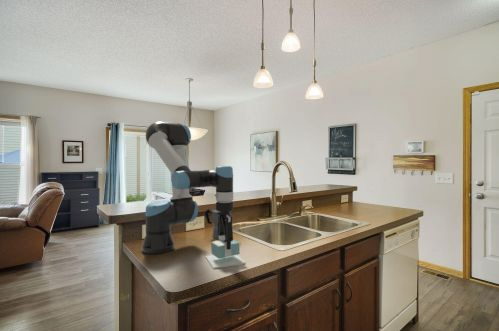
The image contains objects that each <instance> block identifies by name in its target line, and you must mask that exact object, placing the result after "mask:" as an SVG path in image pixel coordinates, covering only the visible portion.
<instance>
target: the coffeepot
mask: <svg viewBox="0 0 499 331" xmlns="http://www.w3.org/2000/svg"><path fill="white" fill-rule="evenodd" d="M218 212H220V211H217V210H216V209H209V208H208V209H206V211H205V212H204V216H205V218H206V221H207V224H210V225H211V224H212V221H213V228H212V234H211V237H212V239H215V240H219V236H220V235H218V232H217V229H218ZM231 213H232V211H229V214H231ZM209 214H211V215H212V221H210V216H209Z"/></svg>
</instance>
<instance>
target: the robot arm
mask: <svg viewBox="0 0 499 331" xmlns="http://www.w3.org/2000/svg"><path fill="white" fill-rule="evenodd" d="M145 140H146V142H147V144H148V145H149V147H150V148H152V149H154V150H155V152H156V153H157V155H158V156H159V158H160V159H161V160H162V162H163V164H165V167H167V169H168V171H169V172H170V182H171V191H172V196H171V198H169V200H168V199H165V200H164V199H163V200H156V201H153V202H150V203H148V204H147V205H145V206H146V207H145V212H144V216H145V236H144V240H143V242H142V245H141V252H142V253H144V254H147V255H158V254H159V255H160V254H164V253H169V252H170V251H172V250H174V249H175V242H174V238H173V236H172V232H171V226H177V225H181V224H189V223H190V222H193V221H195V220H196V219H197V216H198V214H199V205H198V203H197V201H196V200H195V199H193V196H192V195H191V194H190V190H189V189H196V188H207V187H211V188H212V187H213V188H215V194H214V197H215V201H216V203H215V210H217V211H220V212H218V229H217V232H218V235H220V236H219V239H218V241H221V240H224V242H225V257H229V256H231V241H233V240H234V233H233V217H232V216H231V215H230V214H231V213H230V214H229V211H231V212H232V211H233V210H234V202H233V200H234V171H233V170H234V168H233V167H232V166H231V165H221V166H220V165H217V166H216V167H215V170H214V169H213V170H212V169H204V170H191V169H190V168H189V166H188V165H187V157H186V150H187V148H188V145H189V144H190V143H191V140H192V134H191V131H190V128H189V127H188V126H187V125H185V124H183V123H179V122H178V123H177V122H167V121H155V122H152V123H151V124H150V125H149V126H148V127H147V128H146V131H145Z"/></svg>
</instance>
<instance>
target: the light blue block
mask: <svg viewBox="0 0 499 331" xmlns="http://www.w3.org/2000/svg"><path fill="white" fill-rule="evenodd" d="M210 245H211V250H210V251H211V255H214V256H216V257H217V258H218V259H220V258H224V257H225V242H224V240H221V241H219V240H214V241H211V244H210ZM240 252H241V251H240V242H239V241H238V240H235V239H233V241H231V256H233V255H238V256H239V255H240V254H241V253H240Z"/></svg>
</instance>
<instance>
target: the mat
mask: <svg viewBox="0 0 499 331" xmlns="http://www.w3.org/2000/svg"><path fill="white" fill-rule="evenodd" d="M205 259H206V260H207V262H208V263H209V266H210V267H211V268H212V269H213V270H216V269H221V268H229V267H234V266H235V267H236V266H240V265H241V266H242V265H246V261H244V260H243V258H241V257H240V255H239V254H238V255H233V256H229V257H224V258H220V259H218V258H217V257H216V256H214V255H213V254H209V255H205Z"/></svg>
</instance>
